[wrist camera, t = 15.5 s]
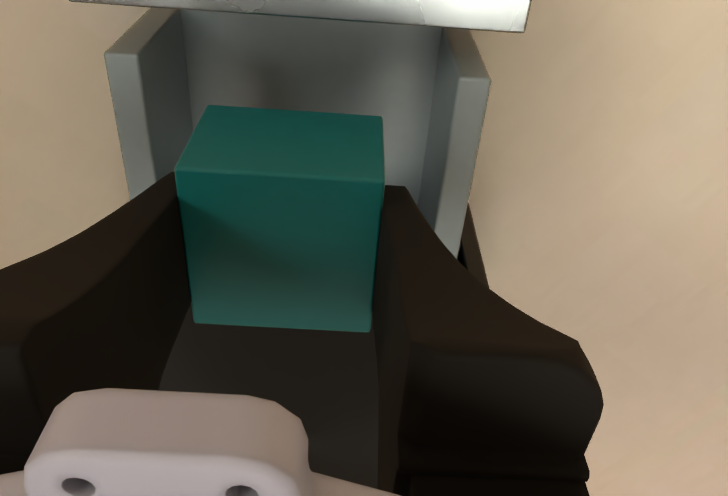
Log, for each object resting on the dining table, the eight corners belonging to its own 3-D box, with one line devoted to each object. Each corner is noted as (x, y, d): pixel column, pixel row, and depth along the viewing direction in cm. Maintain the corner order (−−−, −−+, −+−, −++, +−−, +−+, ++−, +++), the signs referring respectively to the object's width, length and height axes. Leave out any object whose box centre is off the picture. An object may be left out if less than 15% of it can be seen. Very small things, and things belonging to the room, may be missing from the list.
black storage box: (158, 167, 23) (91, 285, 17) (465, 186, 23) (494, 307, 17) (193, 406, 30) (154, 540, 25) (422, 418, 31) (433, 551, 25)
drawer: (99, -340, 14) (-14, -396, 10) (537, -301, 14) (605, -341, 10) (180, 264, 24) (141, 361, 20) (437, 278, 24) (450, 377, 20)
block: (206, 103, 14) (172, 167, 12) (383, 114, 14) (386, 180, 12) (219, 246, 16) (193, 324, 14) (370, 255, 17) (370, 333, 14)
